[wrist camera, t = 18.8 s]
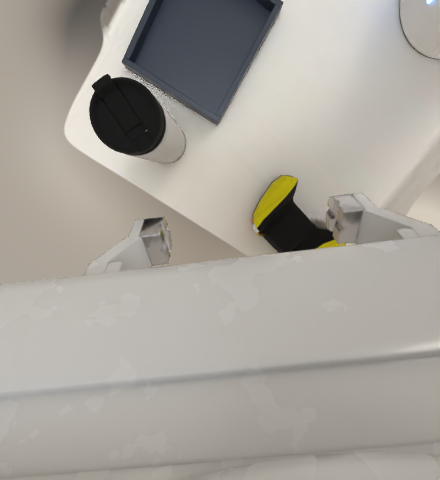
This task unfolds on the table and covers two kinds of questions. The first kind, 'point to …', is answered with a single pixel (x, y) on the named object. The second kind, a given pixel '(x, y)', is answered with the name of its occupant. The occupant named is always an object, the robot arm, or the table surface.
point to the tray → (200, 48)
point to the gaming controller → (287, 220)
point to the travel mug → (134, 121)
